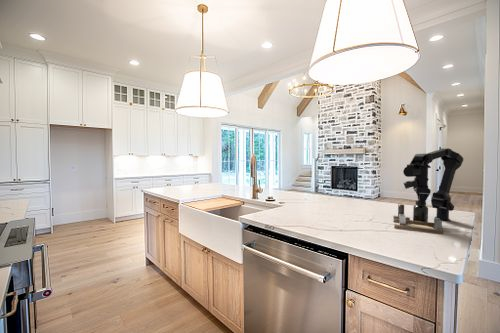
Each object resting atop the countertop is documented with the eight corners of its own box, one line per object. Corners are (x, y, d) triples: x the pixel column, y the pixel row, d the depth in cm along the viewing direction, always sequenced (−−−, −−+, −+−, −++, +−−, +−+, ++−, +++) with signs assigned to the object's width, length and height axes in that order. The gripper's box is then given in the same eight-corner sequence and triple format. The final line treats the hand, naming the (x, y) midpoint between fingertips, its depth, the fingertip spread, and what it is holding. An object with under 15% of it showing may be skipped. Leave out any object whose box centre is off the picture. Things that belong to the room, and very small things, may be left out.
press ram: (397, 218, 142) (398, 204, 141) (403, 218, 140) (404, 204, 140) (399, 226, 126) (399, 210, 125) (406, 227, 124) (406, 211, 124)
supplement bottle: (430, 224, 130) (431, 202, 130) (416, 223, 132) (417, 202, 131) (423, 220, 137) (424, 200, 136) (410, 220, 138) (411, 199, 138)
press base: (393, 218, 143) (393, 210, 143) (435, 222, 133) (435, 213, 133) (394, 228, 124) (394, 218, 124) (443, 234, 114) (443, 223, 114)
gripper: (403, 174, 145) (402, 199, 146) (405, 177, 129) (405, 205, 130) (425, 175, 140) (425, 201, 140) (431, 177, 123) (430, 207, 124)
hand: (420, 203), depth 134 cm, fingers open, 9 cm apart
